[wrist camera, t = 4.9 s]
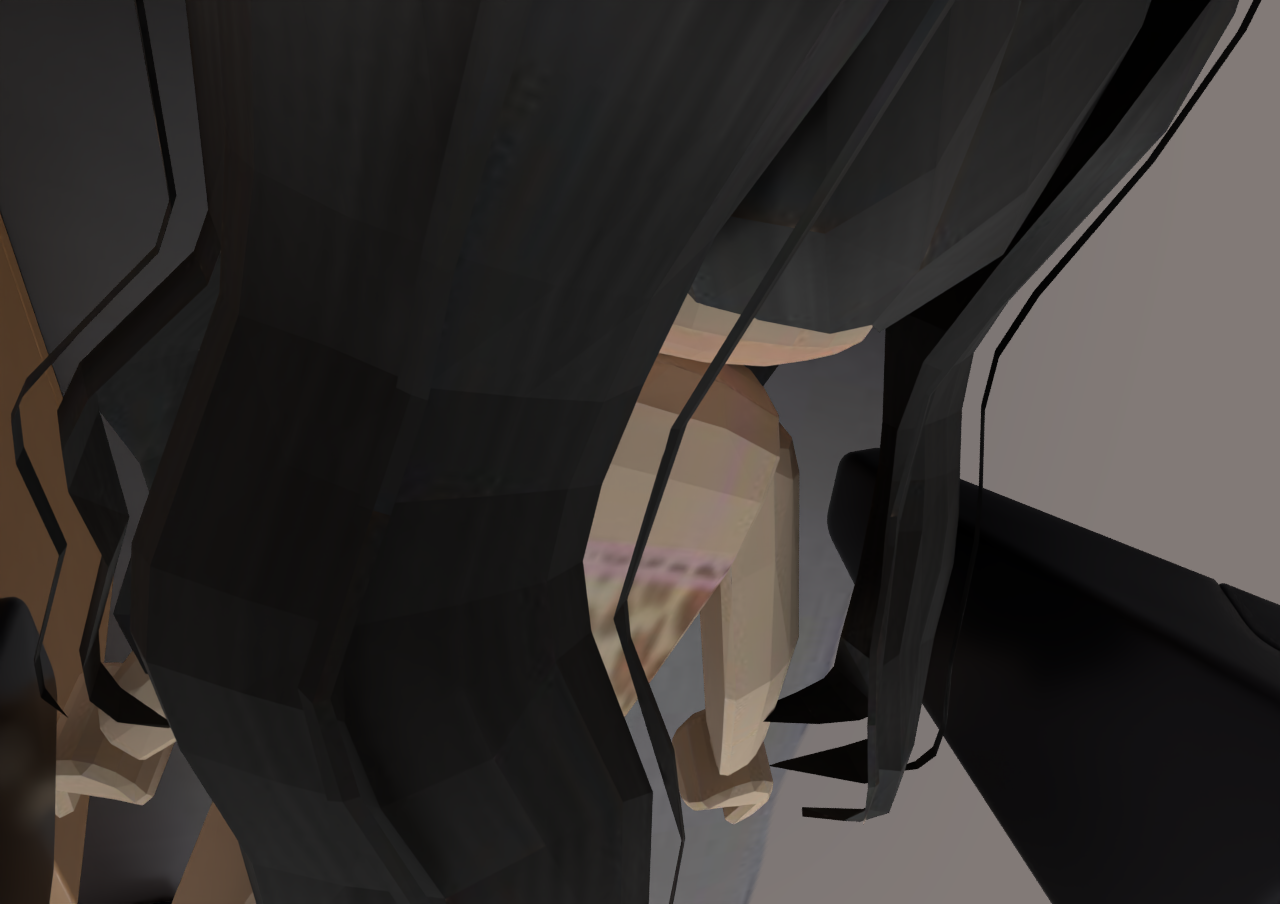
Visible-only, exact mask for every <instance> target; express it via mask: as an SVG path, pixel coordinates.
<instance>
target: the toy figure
mask: <svg viewBox="0 0 1280 904" xmlns="http://www.w3.org/2000/svg"><path fill="white" fill-rule="evenodd" d="M134 2H135V7H136V13H137V19H138V24H139V30H140V36H141V42H142V47H143V53H144V59H145V64H146V70H147V76H148V81H149V87H150V93H151V98H152V104H153V110H154V115H155V121H156V127H157V132H158V138H159V144H160V149H161V155H162V161H163V166H164V172H165V178H166V184H167V189H168V195H169V203H168V206H167V209H166V213H165V216H164V219H163V223H162V226H161V229H160V233H159V236H158V239H157V243H156V246H155V247H154V248H153V249H152V250H151V251H150V252H149V253H148V254H147V255H146V256H145V257H144V258H143V259H142V261H141V262H140V263H139V264H138V265H137V266H136V267H135V268H134V269H133V270H132V271H131V272H130V273H129V274H128V275H127V276H126V277H125V278H124V279H123V280H122V281H121V282H120V283H119V284H118V285H117V286H116V287H115V288H114V289H113V290H112V291H111V292H110V293H109V294H108V295H107V296H106V297H105V298H104V299H103V300H102V301H101V302H100V303H99V304H98V305H97V307H96V308H95V309H94V310H93V311H92V312H91V313H90V314H89V315H88V316H87V317H86V318H85V319H84V320H83V321H82V322H81V323H80V324H79V325H78V326H77V327H76V328H75V329H74V330H73V331H72V332H71V333H70V334H69V335H68V336H67V337H66V338H65V339H64V340H63V341H62V342H61V343H60V344H59V345H58V346H57V347H56V348H55V349H54V350H53V352H52V353H51V354H50V355H49V356H48V357H47V358H46V359H45V360H44V361H43V362H42V363H41V364H40V365H39V366H38V367H37V368H36V369H35V370H34V371H33V372H32V373H31V374H30V375H29V376H28V377H27V378H26V380H25V383H24V385H23V387H22V389H21V392H20V394H19V396H18V399H17V401H16V403H15V406H14V408H13V410H12V412H11V426H12V435H13V444H14V453H15V462H16V466H17V468H18V470H19V472H20V474H21V476H22V478H23V481H24V483H25V485H26V487H27V489H28V491H29V493H30V495H31V498H32V500H33V502H34V504H35V506H36V508H37V510H38V512H39V514H40V517H41V519H42V521H43V523H44V525H45V527H46V529H47V531H48V534H49V536H50V538H51V540H52V542H53V544H54V546H55V548H56V551H57V553H58V555H59V557H58V561H57V565H56V569H55V574H54V578H53V582H52V586H51V590H50V594H49V598H48V603H47V607H46V611H45V615H44V619H43V623H42V627H41V632H40V636H39V640H38V644H37V648H36V652H35V656H34V667H35V672H36V677H37V682H38V687H39V692H40V697H41V698H42V699H43V700H44V701H46V702H47V703H48V704H50V705H51V706H53V707H54V708H55V709H57V710H58V711H59V712H61V713H62V714H61V716H60V718H59V720H58V723H57V740H56V795H55V815H57V816H58V817H59V818H61V817H63V816H65V815H67V814H69V813H71V812H73V811H74V809H75V807H76V805H77V802H78V800H79V797H80V795H81V794H83V795H90V796H96V797H103V798H109V799H116V800H120V801H125V802H129V803H134V804H138V805H144V804H145V803H146V802H147V801H149V800H150V799H151V798H152V797H153V796H154V794H155V792H156V789H157V786H158V784H159V781H160V779H161V776H162V774H163V771H164V769H165V766H166V763H167V761H168V758H169V756H170V753H171V751H172V748H173V746H174V743H175V742H176V741H177V743H178V746H179V748H180V750H181V752H182V753H183V755H184V756H185V758H186V760H187V761H188V763H189V764H190V766H191V768H192V769H193V771H194V772H195V774H196V775H197V777H198V779H199V780H200V782H201V783H202V785H203V787H204V788H205V790H206V791H207V793H208V794H209V796H210V798H211V799H212V801H213V802H212V804H211V807H210V809H209V812H208V814H207V817H206V819H205V822H204V824H203V827H202V829H201V832H200V834H199V837H198V839H197V842H196V844H195V846H194V849H193V851H192V854H191V856H190V859H189V861H188V864H187V866H186V869H185V871H184V874H183V876H182V879H181V881H180V884H179V886H178V889H177V891H176V894H175V896H174V899H173V901H172V904H649V882H650V855H651V828H652V801H653V791H652V789H651V786H650V784H649V781H648V778H647V776H646V773H645V770H644V768H643V765H642V763H641V760H640V757H639V755H638V752H637V749H636V747H635V744H634V742H633V739H632V736H631V734H630V731H629V728H628V726H627V723H626V721H625V718H624V717H625V716H626V715H627V713H628V712H629V710H630V709H631V708H632V706H633V705H634V704H635V702H636V701H637V699H638V701H639V704H640V707H641V711H642V714H643V717H644V720H645V724H646V727H647V730H648V733H649V736H650V740H651V743H652V746H653V749H654V753H655V756H656V759H657V762H658V766H659V769H660V772H661V775H662V779H663V782H664V785H665V788H666V791H667V795H668V798H669V801H670V804H671V808H672V811H673V814H674V817H675V821H676V824H677V827H678V830H679V834H680V837H681V840H682V841H681V846H680V851H679V856H678V861H677V866H676V871H675V876H674V881H673V886H672V891H671V896H670V901H669V904H673V901H674V896H675V890H676V885H677V879H678V874H679V869H680V863H681V858H682V852H683V847H684V841H685V833H684V825H683V816H682V808H681V800H680V794H681V797H682V799H683V800H684V802H685V803H686V804H687V806H689V807H690V808H692V809H693V810H695V811H697V810H706V809H714V808H722V807H723V812H724V816H725V820H727V821H729V822H730V823H732V824H735V823H737V822H739V821H741V820H743V819H745V818H747V817H749V816H751V815H752V814H753V813H754V812H755V811H757V810H758V809H759V808H760V807H761V806H762V805H764V804H765V803H766V802H767V801H768V799H769V797H770V794H771V792H772V789H773V779H772V775H771V771H770V767H769V763H768V759H767V754H766V750H765V746H764V742H763V740H764V738H765V736H766V734H767V731H768V728H769V725H770V722H783V723H807V724H823V723H834V722H845V721H856V720H861V719H863V718H866V717H868V725H867V726H868V727H867V729H868V739H865V740H862V741H859V742H856V743H852V744H849V745H846V746H842V747H839V748H834V749H830V750H826V751H822V752H818V753H814V754H810V755H806V756H802V757H798V758H794V759H790V760H786V761H782V762H778V763H775V764H772V765H770V766H773V767H778V768H783V769H789V770H795V771H800V772H805V773H810V774H816V775H821V776H826V777H832V778H837V779H843V780H848V781H853V782H859V783H864V784H865V783H868V792H867V800H866V808H864V809H841V808H808V807H802V815H803V816H804V817H813V818H822V819H832V820H842V821H858V822H860V821H864V822H865V820H867V819H870V818H873V817H877V816H880V815H884V814H887V813H889V811H890V808H891V806H892V803H893V801H894V798H895V796H896V793H897V790H898V787H899V784H900V782H901V779H902V776H903V773H904V771H905V770H913V769H918V768H920V767H921V766H923V765H924V764H925V763H926V762H928V761H929V760H931V759H932V758H933V757H935V756H936V754H937V751H938V748H939V745H940V742H941V739H942V737H943V734H944V731H945V728H946V724H947V715H948V705H949V695H950V684H951V674H952V664H953V659H954V655H955V650H956V646H957V641H958V636H959V632H960V627H961V623H962V618H963V614H964V609H965V604H966V600H967V595H968V591H969V586H970V582H971V577H972V572H973V568H974V563H975V559H976V554H977V550H978V545H979V534H980V520H981V506H982V492H983V457H984V422H985V421H984V420H985V408H986V404H987V400H988V396H989V393H990V389H991V385H992V381H993V378H994V374H995V370H996V367H997V363H998V359H999V356H1000V355H1001V353H1002V352H1003V350H1004V349H1005V347H1006V346H1007V344H1008V343H1009V341H1010V340H1011V338H1012V337H1013V335H1014V333H1015V332H1016V331H1017V329H1018V328H1019V326H1020V325H1021V323H1022V322H1023V320H1024V319H1025V317H1026V315H1027V314H1028V312H1029V311H1030V309H1031V308H1032V306H1033V305H1034V303H1035V302H1036V300H1037V299H1038V297H1039V296H1040V295H1041V293H1042V292H1043V291H1044V290H1045V289H1046V288H1047V286H1048V285H1049V284H1050V283H1051V282H1052V281H1053V279H1054V278H1055V277H1056V276H1057V275H1058V274H1059V272H1060V271H1061V270H1062V269H1063V268H1064V267H1065V265H1066V264H1067V263H1068V262H1069V261H1070V260H1071V258H1072V257H1073V256H1074V255H1075V254H1076V253H1077V251H1078V250H1079V249H1080V248H1081V247H1082V246H1083V244H1084V243H1085V242H1086V241H1087V240H1088V239H1089V237H1090V236H1091V235H1092V234H1093V233H1094V232H1095V230H1096V229H1097V228H1098V227H1099V226H1100V225H1101V223H1102V222H1103V221H1104V220H1105V219H1106V218H1107V216H1108V215H1109V214H1110V213H1111V212H1112V211H1113V209H1114V208H1115V207H1116V206H1117V205H1118V204H1119V202H1120V201H1121V200H1122V199H1123V198H1124V196H1125V195H1126V194H1127V193H1128V192H1129V191H1130V190H1131V188H1132V187H1133V186H1134V185H1135V184H1136V182H1137V181H1138V180H1139V179H1140V178H1141V177H1142V176H1143V174H1144V173H1145V172H1146V171H1147V170H1148V169H1149V167H1150V166H1151V165H1152V164H1153V163H1154V161H1155V160H1156V159H1157V157H1158V156H1159V154H1160V153H1161V152H1162V150H1163V149H1164V147H1165V146H1166V144H1167V143H1168V142H1169V140H1170V139H1171V137H1172V136H1173V134H1174V133H1175V132H1176V130H1177V129H1178V127H1179V126H1180V124H1181V123H1182V122H1183V120H1184V119H1185V117H1186V116H1187V114H1188V113H1189V112H1190V110H1191V109H1192V107H1193V106H1194V104H1195V103H1196V102H1197V100H1198V99H1199V97H1200V96H1201V94H1202V93H1203V92H1204V90H1205V89H1206V87H1207V86H1208V84H1209V83H1210V82H1211V80H1212V79H1213V77H1214V76H1215V74H1216V73H1217V72H1218V70H1219V68H1220V67H1221V66H1222V64H1223V63H1224V62H1225V60H1226V59H1227V57H1228V56H1229V54H1230V53H1231V51H1232V50H1233V49H1234V47H1235V45H1236V44H1237V43H1238V41H1239V40H1240V39H1241V37H1242V36H1243V34H1244V33H1245V31H1246V30H1247V28H1248V26H1249V24H1250V22H1251V20H1252V18H1253V15H1254V14H1255V12H1256V10H1257V8H1258V6H1259V4H1260V2H1261V0H1253V2H1252V5H1251V6H1250V8H1249V10H1248V12H1247V14H1246V16H1245V18H1244V20H1243V22H1242V24H1241V26H1240V28H1239V30H1238V32H1237V33H1236V35H1235V36H1234V38H1233V39H1232V40H1231V42H1230V43H1229V45H1228V46H1227V48H1226V49H1225V50H1224V52H1223V53H1222V55H1221V56H1220V58H1219V59H1218V60H1217V62H1216V63H1215V65H1214V66H1213V68H1212V69H1211V70H1210V72H1209V73H1208V75H1207V76H1206V77H1205V79H1204V80H1203V82H1202V83H1201V85H1200V86H1199V87H1198V89H1197V90H1196V92H1195V93H1194V95H1193V96H1192V97H1191V99H1190V100H1189V102H1188V103H1187V105H1186V106H1185V107H1184V109H1183V110H1182V112H1181V113H1180V114H1179V116H1178V117H1177V119H1176V120H1175V122H1174V123H1173V124H1172V126H1171V127H1170V129H1169V130H1168V132H1167V133H1166V134H1165V136H1164V137H1163V139H1162V140H1161V142H1160V143H1159V144H1158V146H1157V147H1156V149H1155V150H1154V151H1153V153H1152V154H1151V156H1150V157H1149V159H1148V160H1147V161H1146V162H1145V164H1144V165H1143V166H1142V167H1141V168H1140V169H1139V170H1138V171H1137V173H1136V174H1135V175H1134V176H1133V177H1132V178H1131V180H1130V181H1129V182H1128V183H1127V184H1126V185H1125V186H1124V188H1123V189H1122V190H1121V191H1120V192H1119V193H1118V195H1117V196H1116V197H1115V198H1114V199H1113V200H1112V202H1111V203H1110V204H1109V205H1108V206H1107V207H1106V208H1105V210H1104V211H1103V212H1102V213H1101V214H1100V215H1099V216H1098V218H1097V219H1096V220H1095V221H1094V222H1093V224H1092V225H1091V226H1090V227H1089V228H1088V229H1087V230H1086V232H1085V233H1084V234H1083V235H1082V236H1081V237H1080V238H1079V240H1078V241H1077V242H1076V243H1075V244H1074V245H1073V246H1072V248H1071V249H1070V250H1069V251H1068V252H1067V254H1066V255H1065V256H1064V257H1063V258H1062V259H1061V260H1060V262H1059V263H1058V264H1057V265H1056V266H1055V267H1054V268H1053V270H1052V271H1051V272H1050V273H1049V274H1048V275H1047V276H1046V278H1045V279H1044V280H1043V281H1042V282H1041V283H1040V285H1039V286H1038V287H1037V288H1036V289H1035V290H1034V292H1033V293H1032V295H1031V296H1030V298H1029V299H1028V301H1027V303H1026V304H1025V305H1024V307H1023V309H1022V310H1021V312H1020V313H1019V315H1018V316H1017V318H1016V319H1015V321H1014V322H1013V324H1012V325H1011V327H1010V329H1009V330H1008V332H1007V333H1006V335H1005V336H1004V338H1003V339H1002V341H1001V343H1000V344H999V345H998V347H997V348H996V350H995V353H994V357H993V361H992V365H991V369H990V373H989V377H988V381H987V385H986V389H985V393H984V396H983V401H982V405H981V432H980V469H979V489H978V501H977V512H976V524H975V535H974V543H973V548H972V553H971V558H970V562H969V567H968V572H967V577H966V581H965V586H964V591H963V596H962V600H961V605H960V610H959V615H958V620H957V624H956V629H955V634H954V639H953V643H952V648H951V653H950V658H949V663H948V672H947V681H946V689H945V698H944V711H943V721H942V724H941V726H940V729H939V732H938V734H937V737H936V740H935V743H934V746H933V747H932V748H931V749H930V750H928V751H927V752H926V753H925V754H924V755H922V756H921V757H920V758H919V759H917V760H916V761H915V762H911V763H909V764H907V762H908V760H909V757H910V754H911V751H912V748H913V746H914V741H915V736H916V731H917V726H918V721H919V715H920V710H921V705H922V699H923V694H924V689H925V684H926V678H927V673H928V668H929V662H930V657H931V652H932V646H933V641H934V636H935V632H936V628H937V625H938V621H939V617H940V613H941V610H942V606H943V602H944V598H945V594H946V591H947V587H948V583H949V579H950V576H951V572H952V568H953V564H954V556H955V546H956V537H957V527H958V518H959V490H960V449H961V420H962V407H963V402H964V397H965V392H966V387H967V382H968V377H969V373H970V368H971V364H972V359H973V354H974V351H975V350H976V348H977V347H978V346H979V344H980V342H981V341H982V340H983V338H984V337H985V335H986V334H987V332H988V331H989V329H990V328H991V326H992V325H993V323H994V322H995V320H996V319H997V317H998V316H999V314H1000V313H1001V312H1002V310H1003V309H1004V307H1005V306H1006V304H1007V303H1008V301H1009V300H1010V299H1011V298H1012V297H1013V296H1014V294H1015V293H1016V292H1017V291H1018V290H1019V289H1020V288H1021V287H1022V286H1023V285H1024V284H1025V283H1026V282H1027V280H1028V279H1029V278H1030V277H1031V276H1032V275H1033V274H1034V273H1035V272H1036V271H1037V270H1038V269H1039V268H1040V267H1041V265H1042V264H1043V263H1044V262H1045V261H1046V260H1047V259H1048V258H1049V257H1050V256H1051V255H1052V254H1053V253H1054V251H1055V250H1056V249H1057V248H1058V247H1059V246H1060V245H1061V244H1062V243H1063V242H1064V241H1065V240H1066V239H1067V237H1068V236H1069V235H1070V234H1071V233H1072V232H1073V231H1074V230H1075V229H1076V228H1077V227H1078V226H1079V225H1080V223H1081V222H1082V221H1083V220H1084V219H1085V218H1086V217H1087V216H1088V215H1089V214H1090V213H1091V212H1092V211H1093V209H1094V208H1095V207H1096V206H1097V205H1098V204H1099V203H1100V202H1101V201H1102V200H1103V198H1105V197H1106V195H1107V194H1108V193H1109V192H1110V191H1111V190H1112V189H1113V188H1114V187H1115V186H1116V185H1117V184H1118V182H1119V181H1120V180H1121V179H1122V178H1123V177H1124V176H1125V175H1126V174H1127V173H1128V172H1129V171H1130V169H1132V167H1133V166H1134V165H1135V164H1136V163H1137V162H1138V161H1139V160H1140V159H1141V158H1142V157H1143V156H1144V154H1145V153H1146V152H1147V151H1148V150H1149V149H1150V148H1151V146H1153V145H1154V144H1155V143H1156V141H1158V139H1159V138H1160V137H1161V136H1162V135H1163V134H1164V133H1165V132H1166V130H1167V129H1168V127H1169V125H1170V123H1171V122H1172V120H1173V118H1174V117H1175V115H1176V113H1177V111H1178V110H1179V108H1180V106H1181V105H1182V103H1183V101H1184V100H1185V98H1186V96H1187V94H1188V93H1189V91H1190V89H1191V88H1192V86H1193V84H1194V82H1195V80H1196V79H1197V77H1198V76H1199V74H1200V72H1201V70H1202V69H1203V67H1204V65H1205V63H1206V62H1207V60H1208V58H1209V57H1210V55H1211V53H1212V52H1213V50H1214V48H1215V46H1216V45H1217V43H1218V41H1219V40H1220V38H1221V36H1222V34H1223V33H1224V31H1225V29H1226V28H1227V26H1228V24H1229V22H1230V21H1231V19H1232V17H1233V16H1234V14H1235V11H1236V8H1237V5H1238V2H1239V0H185V2H186V11H187V20H188V29H189V38H190V47H191V56H192V65H193V75H194V84H195V93H196V102H197V111H198V120H199V129H200V138H201V147H202V156H203V165H204V174H205V183H206V193H207V202H208V212H207V215H206V218H205V220H204V223H203V226H202V229H201V232H200V235H199V238H198V240H197V243H196V246H195V249H194V251H193V252H192V253H191V254H190V255H189V256H188V257H187V258H186V259H185V260H184V261H183V262H182V263H181V264H180V265H179V266H178V267H177V268H176V269H175V270H174V271H173V272H172V273H171V274H170V275H169V276H168V277H167V278H166V279H165V280H164V281H163V282H162V283H161V284H160V285H159V286H158V287H156V288H155V289H154V290H153V291H152V292H151V293H150V294H149V295H148V296H147V297H146V298H145V299H144V300H143V301H142V302H141V303H140V304H139V305H138V306H137V307H136V308H135V309H134V310H133V311H132V312H131V313H130V314H129V315H128V316H127V317H126V318H125V319H124V320H123V321H122V322H121V323H120V324H119V325H118V326H117V327H116V328H115V329H113V330H112V331H111V332H110V333H109V334H108V335H107V336H106V337H105V338H104V339H103V340H102V341H101V342H100V343H99V344H98V345H97V346H96V347H95V348H94V349H93V350H92V351H91V352H90V353H89V354H88V355H87V356H86V357H85V358H84V359H83V360H82V361H81V362H80V363H79V366H78V368H77V370H76V372H75V374H74V376H73V378H72V380H71V382H70V384H69V387H68V389H67V391H66V393H65V395H64V397H63V399H62V401H61V403H60V406H59V408H58V410H57V416H58V424H59V433H60V441H61V449H62V457H63V463H64V469H65V476H66V482H67V489H68V493H69V495H70V497H71V499H72V500H73V502H74V504H75V506H76V508H77V510H78V512H79V514H80V515H81V517H82V519H83V521H84V523H85V525H86V527H87V529H88V530H89V532H90V534H91V536H92V538H93V540H94V542H95V544H96V546H97V547H98V549H99V551H100V553H101V555H102V556H101V560H100V564H99V568H98V573H97V577H96V581H95V585H94V589H93V594H92V598H91V602H90V606H89V610H88V614H87V619H86V623H85V627H84V631H83V635H82V639H81V644H80V648H79V653H80V659H81V664H82V669H83V673H82V674H80V675H79V677H78V679H77V681H76V683H75V686H74V688H73V690H72V692H71V694H70V696H69V699H68V701H67V703H66V705H65V707H64V709H63V710H62V709H61V708H60V706H59V705H58V704H57V702H56V701H55V700H54V698H53V697H52V696H51V695H50V693H49V692H48V691H47V689H46V688H45V685H44V678H43V672H42V665H41V659H40V651H41V647H42V643H43V639H44V635H45V631H46V627H47V623H48V619H49V615H50V611H51V607H52V603H53V600H54V596H55V592H56V588H57V584H58V580H59V576H60V572H61V568H62V564H63V560H64V556H65V552H66V548H67V542H66V540H65V538H64V535H63V533H62V531H61V529H60V526H59V524H58V522H57V520H56V517H55V515H54V513H53V511H52V508H51V506H50V504H49V502H48V499H47V497H46V495H45V493H44V490H43V488H42V486H41V484H40V481H39V479H38V477H37V475H36V472H35V470H34V468H33V466H32V463H31V461H30V459H29V457H28V454H27V452H26V450H25V448H24V443H23V434H22V426H21V417H20V409H19V405H20V402H21V400H22V398H23V396H24V395H25V394H26V393H27V391H28V390H29V389H30V388H31V387H32V386H33V385H34V383H35V382H36V381H37V380H38V379H39V378H40V377H41V376H42V374H43V373H44V372H45V371H46V370H47V369H48V368H49V367H50V365H51V364H52V363H53V362H54V361H55V360H56V359H57V358H58V356H59V355H60V354H61V353H62V352H63V351H64V350H65V349H66V347H67V346H68V345H69V344H70V343H71V342H72V341H73V339H74V338H75V337H76V336H77V335H78V334H79V333H80V332H81V331H82V330H83V329H84V328H85V327H86V326H87V325H88V324H89V323H90V322H91V321H92V320H93V319H94V318H95V317H96V316H97V315H98V314H99V313H100V312H101V311H102V310H103V309H104V308H105V307H106V306H107V305H108V304H109V303H110V301H111V300H112V299H113V298H114V297H115V296H116V295H117V294H118V293H119V292H120V291H121V290H122V289H123V288H124V287H125V286H126V285H127V284H128V283H129V282H130V281H131V280H132V279H133V278H134V277H135V276H136V275H137V274H138V273H139V272H140V271H141V270H142V269H143V268H144V267H145V266H146V265H147V264H148V263H149V262H150V261H151V260H152V259H153V258H154V257H155V256H156V255H157V254H158V253H159V250H160V247H161V243H162V240H163V237H164V234H165V231H166V227H167V224H168V221H169V218H170V214H171V211H172V208H173V205H174V202H175V198H176V190H175V184H174V178H173V173H172V167H171V161H170V155H169V149H168V143H167V137H166V132H165V126H164V120H163V114H162V108H161V102H160V96H159V90H158V85H157V79H156V73H155V67H154V61H153V55H152V49H151V44H150V38H149V32H148V26H147V20H146V14H145V8H144V3H143V0H134ZM872 327H874V328H875V329H876V330H877V331H878V332H881V331H883V330H884V329H886V333H885V363H884V393H883V422H882V433H881V444H880V455H879V465H878V470H877V476H876V482H875V487H874V493H873V499H872V505H871V510H870V515H869V520H868V525H867V530H866V535H865V540H864V545H863V550H862V555H861V560H860V565H859V570H858V575H857V578H856V582H855V586H854V589H853V593H852V597H851V600H850V604H849V608H848V611H847V615H846V619H845V622H844V626H843V630H842V633H841V637H840V642H839V646H838V650H837V655H836V659H835V663H834V667H833V668H832V669H831V670H830V672H829V673H828V674H827V675H826V676H825V678H823V679H822V680H820V681H818V682H816V683H814V684H812V685H810V686H808V687H806V688H804V689H802V690H800V691H798V692H796V693H794V694H792V695H789V696H787V697H784V698H782V699H780V700H778V698H779V695H780V692H781V689H782V686H783V683H784V679H785V676H786V673H787V670H788V667H789V664H790V661H791V658H792V655H793V652H794V649H795V646H796V643H797V640H798V637H799V469H798V464H797V460H796V455H795V451H794V446H793V441H792V437H791V436H790V435H789V434H788V432H787V431H786V430H785V429H784V427H783V426H782V425H781V424H780V423H779V415H778V413H777V411H776V409H775V408H774V406H773V404H772V402H771V400H770V398H769V396H768V394H767V393H766V391H765V389H764V388H763V385H764V384H765V383H766V381H767V380H768V379H769V377H770V376H771V375H772V373H773V372H774V371H775V369H776V368H777V367H778V365H779V364H785V363H792V362H798V361H805V360H811V359H815V358H820V357H824V356H829V355H833V354H837V353H839V352H841V351H843V350H845V349H847V348H849V347H851V346H853V345H855V344H857V343H859V342H861V341H863V339H864V338H865V336H866V335H867V334H868V332H869V331H870V330H871V328H872ZM99 410H100V412H101V413H102V414H103V416H104V417H105V418H106V420H107V421H108V422H109V424H110V425H111V426H112V427H113V429H114V430H115V431H116V433H117V434H118V435H119V437H120V438H121V439H122V441H123V442H124V443H125V445H126V446H127V447H128V448H129V450H130V451H131V452H132V454H133V455H134V456H135V458H136V459H137V460H138V462H139V463H140V465H141V468H142V472H143V475H144V478H145V481H146V484H147V487H148V490H149V495H148V498H147V501H146V503H145V506H144V509H143V512H142V515H141V518H140V521H139V523H138V526H137V529H136V532H135V535H134V538H133V540H132V547H131V558H130V562H129V565H128V568H127V571H126V574H125V578H124V581H123V584H122V587H121V590H120V594H119V597H118V600H117V603H116V606H115V610H114V613H113V615H114V617H115V618H116V620H117V622H118V624H119V626H120V628H121V630H122V631H123V633H124V635H125V637H126V639H127V641H128V643H129V644H130V646H131V648H132V652H131V653H130V654H129V656H128V657H127V659H126V660H125V661H124V663H119V662H113V663H102V662H101V658H100V642H99V628H100V625H101V621H102V617H103V613H104V610H105V606H106V602H107V598H108V595H109V591H110V587H111V583H112V580H113V576H114V572H115V568H116V565H117V561H118V557H119V553H120V550H121V546H122V542H123V539H124V535H125V531H126V527H127V524H128V520H129V514H128V510H127V507H126V503H125V500H124V496H123V493H122V489H121V486H120V482H119V479H118V475H117V472H116V468H115V464H114V461H113V457H112V454H111V450H110V447H109V443H108V440H107V436H106V433H105V429H104V426H103V422H102V419H101V415H100V412H99ZM699 612H700V621H701V639H702V657H703V674H704V692H705V709H704V710H702V711H699V712H697V713H695V714H693V715H692V716H691V717H690V718H688V719H687V720H686V721H685V722H684V723H683V724H682V725H681V726H680V727H679V728H678V729H677V731H676V733H675V735H674V737H673V739H672V742H671V739H670V737H669V734H668V732H667V729H666V726H665V724H664V721H663V719H662V716H661V713H660V711H659V708H658V706H657V703H656V700H655V698H654V695H653V693H652V690H651V688H650V685H649V683H650V681H651V680H652V679H653V677H654V676H655V674H656V673H657V671H658V670H659V669H660V667H661V666H662V664H663V663H664V662H665V660H666V659H667V657H668V656H669V655H670V653H671V652H672V650H673V649H674V647H675V646H676V645H677V643H678V642H679V640H680V639H681V638H682V636H683V635H684V633H685V632H686V630H687V629H688V628H689V626H690V625H691V623H692V622H693V621H694V619H695V618H696V616H697V615H698V613H699ZM679 791H680V792H679Z"/></svg>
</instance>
